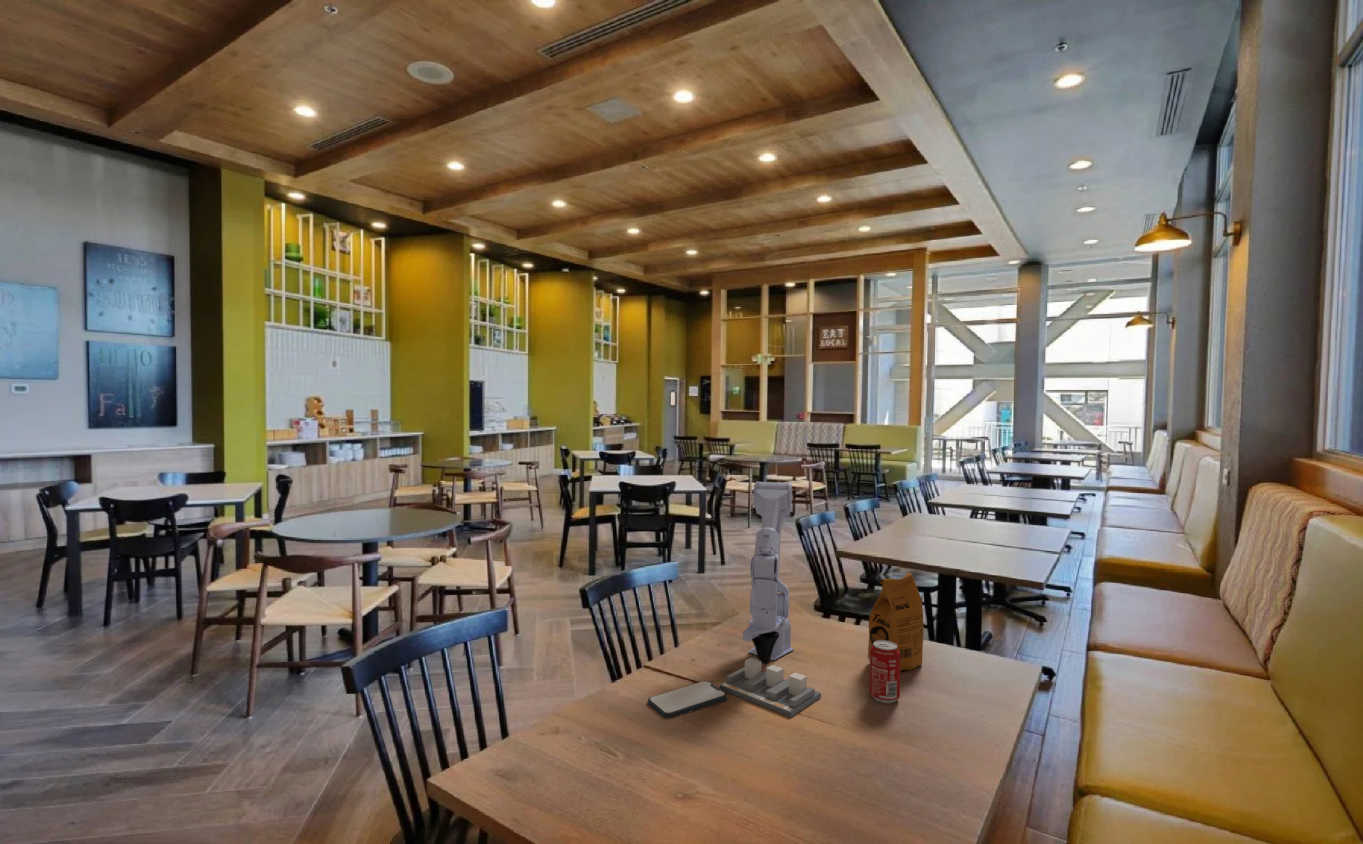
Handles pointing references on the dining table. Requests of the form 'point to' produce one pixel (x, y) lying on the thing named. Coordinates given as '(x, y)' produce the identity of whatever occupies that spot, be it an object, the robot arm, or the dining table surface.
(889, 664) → the beverage can
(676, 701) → the smartphone
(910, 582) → the coffee package
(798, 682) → the tab
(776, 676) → the white rectangular block
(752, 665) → the tab
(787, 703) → the switch board
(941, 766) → the dining table surface
